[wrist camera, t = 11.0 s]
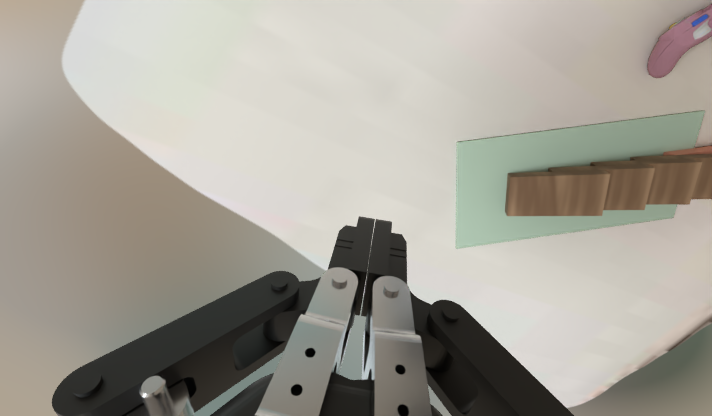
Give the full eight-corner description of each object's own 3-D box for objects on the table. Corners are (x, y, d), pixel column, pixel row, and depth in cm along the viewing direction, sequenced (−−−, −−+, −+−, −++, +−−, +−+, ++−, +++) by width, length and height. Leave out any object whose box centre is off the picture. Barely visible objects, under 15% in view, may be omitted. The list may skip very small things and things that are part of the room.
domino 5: (628, 199, 40) (731, 198, 37) (637, 160, 38) (746, 156, 35) (622, 194, 41) (720, 193, 39) (630, 156, 40) (734, 152, 37)
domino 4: (665, 194, 40) (741, 183, 41) (676, 155, 38) (755, 144, 39) (653, 190, 42) (726, 180, 42) (663, 152, 40) (739, 141, 40)
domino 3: (588, 204, 40) (689, 204, 37) (596, 165, 38) (702, 162, 35) (584, 200, 41) (680, 199, 39) (590, 162, 39) (692, 158, 37)
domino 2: (547, 210, 40) (644, 209, 37) (552, 171, 38) (655, 168, 35) (543, 205, 41) (636, 204, 39) (548, 167, 39) (646, 164, 37)
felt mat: (455, 247, 43) (456, 248, 42) (456, 142, 37) (457, 142, 37) (671, 216, 44) (673, 217, 44) (702, 110, 38) (705, 110, 38)
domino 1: (507, 216, 39) (601, 215, 37) (510, 177, 37) (610, 174, 35) (504, 210, 41) (595, 210, 38) (507, 173, 39) (603, 169, 36)
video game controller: (709, -3, 35) (782, -54, 28) (736, 30, 35) (817, -14, 28) (624, 52, 37) (674, 16, 30) (649, 84, 36) (706, 55, 29)
